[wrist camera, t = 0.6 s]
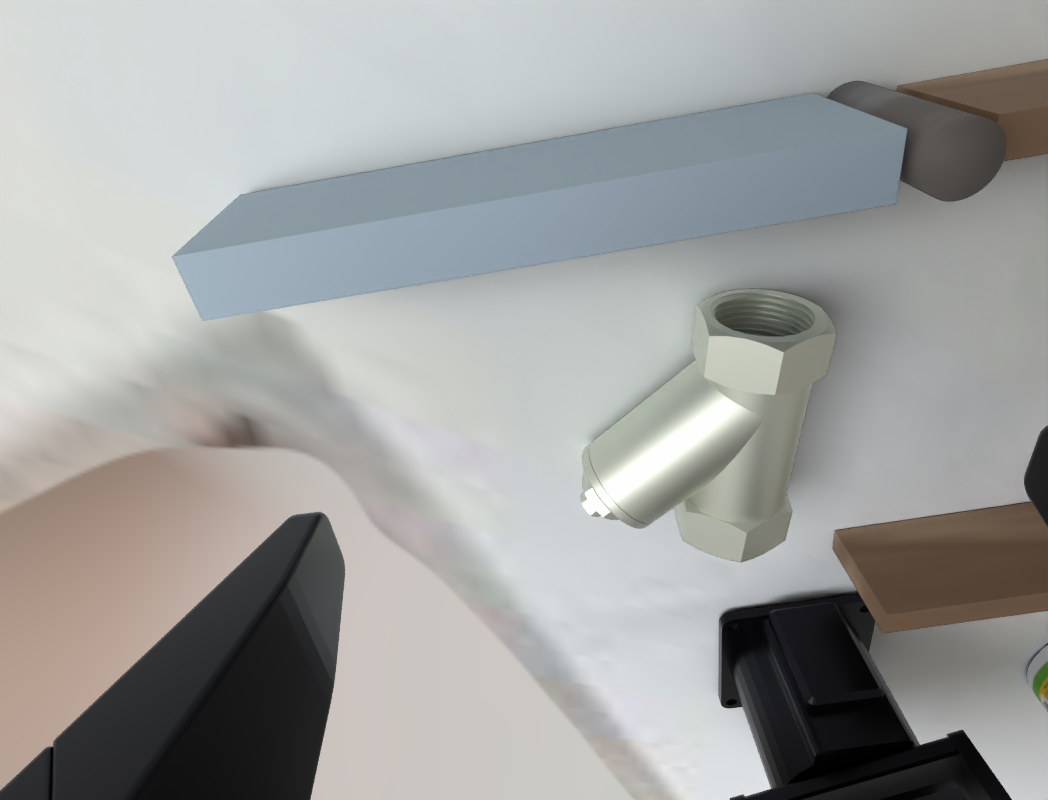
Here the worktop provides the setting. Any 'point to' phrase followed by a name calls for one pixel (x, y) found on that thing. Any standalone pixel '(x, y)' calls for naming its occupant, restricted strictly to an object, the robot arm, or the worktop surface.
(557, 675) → the worktop surface
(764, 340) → the pipe fitting
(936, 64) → the worktop surface
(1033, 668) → the supplement bottle
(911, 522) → the rectangular wooden tray
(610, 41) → the worktop surface
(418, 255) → the grey rectangular bar
